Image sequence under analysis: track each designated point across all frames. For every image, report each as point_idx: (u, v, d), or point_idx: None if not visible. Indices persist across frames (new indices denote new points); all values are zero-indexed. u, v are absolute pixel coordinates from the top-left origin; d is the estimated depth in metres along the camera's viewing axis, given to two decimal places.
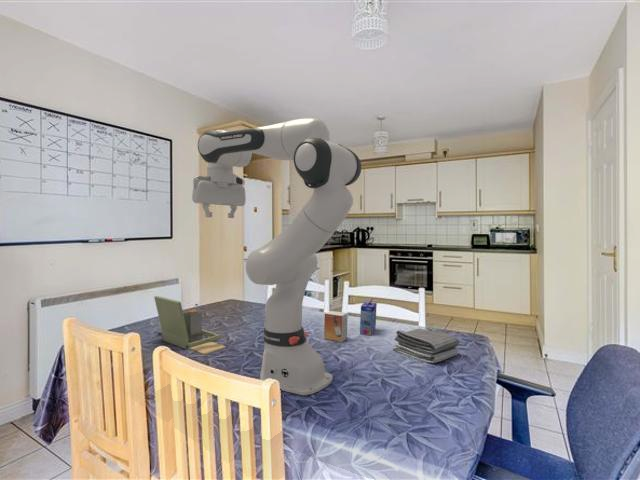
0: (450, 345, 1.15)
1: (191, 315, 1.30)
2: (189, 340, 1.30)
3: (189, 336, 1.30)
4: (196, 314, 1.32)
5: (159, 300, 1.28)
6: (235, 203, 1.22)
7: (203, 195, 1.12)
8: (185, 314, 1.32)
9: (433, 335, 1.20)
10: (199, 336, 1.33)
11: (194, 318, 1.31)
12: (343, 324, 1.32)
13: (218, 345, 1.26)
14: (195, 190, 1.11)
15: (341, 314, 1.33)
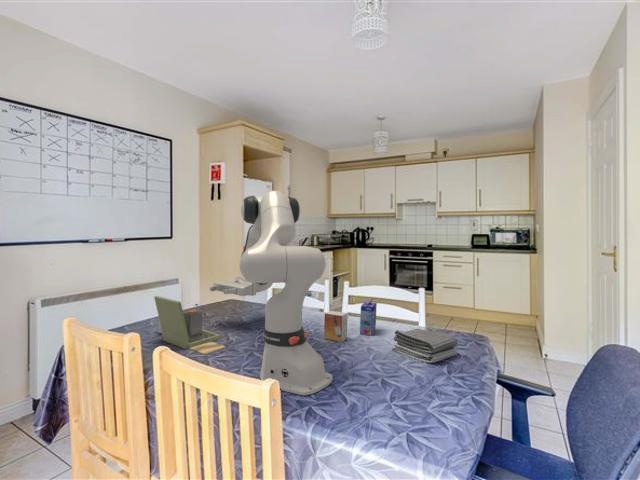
0: (448, 345, 1.15)
1: (191, 315, 1.30)
2: (189, 340, 1.30)
3: (189, 336, 1.30)
4: (196, 314, 1.32)
5: (159, 300, 1.28)
6: (235, 286, 1.43)
7: (219, 282, 1.53)
8: (185, 314, 1.32)
9: (432, 335, 1.20)
10: (199, 336, 1.33)
11: (194, 318, 1.31)
12: (343, 324, 1.32)
13: (218, 345, 1.26)
14: None
15: (341, 314, 1.33)
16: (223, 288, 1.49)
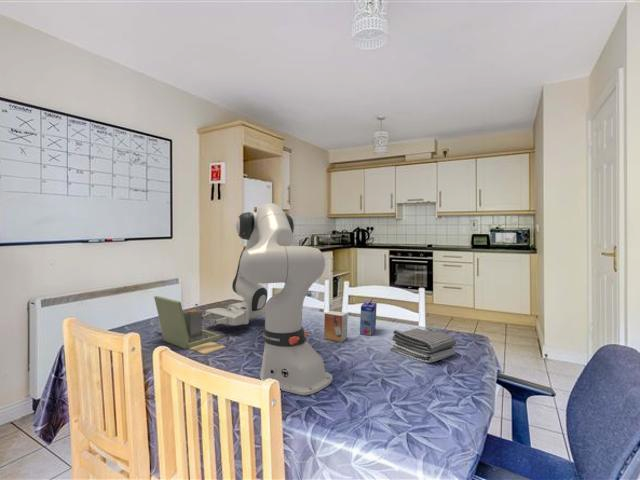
0: (447, 345, 1.15)
1: (191, 315, 1.30)
2: (189, 340, 1.30)
3: (189, 336, 1.30)
4: (196, 314, 1.32)
5: (159, 300, 1.28)
6: (227, 315, 1.40)
7: (212, 309, 1.49)
8: (185, 314, 1.32)
9: (430, 335, 1.20)
10: (199, 336, 1.33)
11: (194, 318, 1.31)
12: (343, 324, 1.32)
13: (218, 345, 1.26)
14: None
15: (341, 314, 1.33)
16: (215, 316, 1.45)
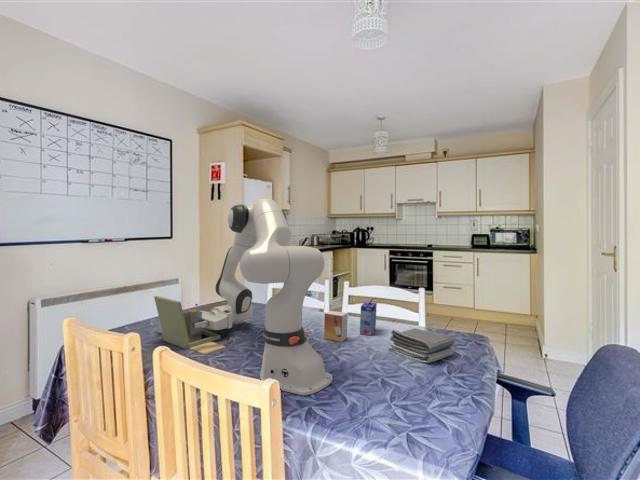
0: (445, 345, 1.15)
1: (191, 315, 1.30)
2: (189, 340, 1.30)
3: (189, 336, 1.30)
4: (196, 314, 1.32)
5: (159, 300, 1.28)
6: (209, 319, 1.33)
7: None
8: (185, 314, 1.32)
9: (428, 335, 1.20)
10: (199, 336, 1.33)
11: (194, 318, 1.31)
12: (343, 324, 1.32)
13: (218, 345, 1.26)
14: None
15: (341, 314, 1.33)
16: None
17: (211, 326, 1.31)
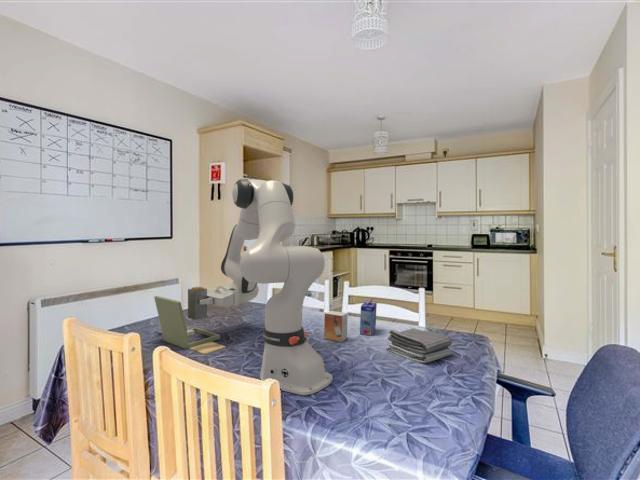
0: (442, 345, 1.15)
1: (196, 291, 1.26)
2: (194, 317, 1.27)
3: (194, 313, 1.26)
4: (201, 290, 1.28)
5: (159, 300, 1.28)
6: (214, 296, 1.29)
7: None
8: (190, 291, 1.28)
9: (426, 335, 1.20)
10: (204, 313, 1.29)
11: (199, 294, 1.27)
12: (343, 324, 1.32)
13: (218, 345, 1.26)
14: None
15: (341, 314, 1.33)
16: None
17: (217, 303, 1.27)
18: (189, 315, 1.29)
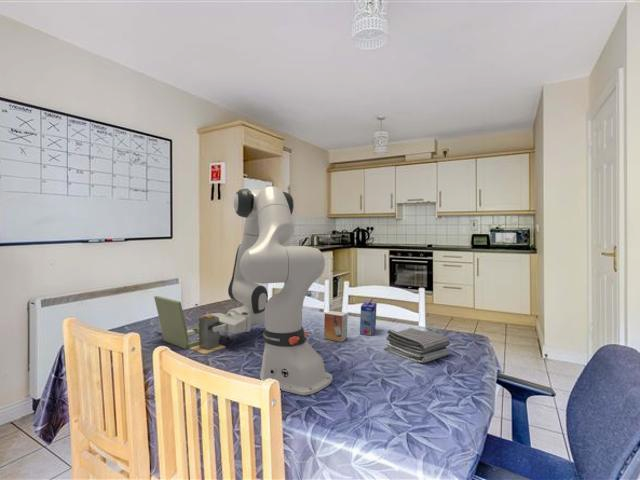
0: (440, 345, 1.15)
1: (208, 320, 1.21)
2: (206, 347, 1.21)
3: (206, 343, 1.21)
4: (213, 319, 1.23)
5: (159, 300, 1.28)
6: (226, 321, 1.24)
7: None
8: (201, 319, 1.23)
9: (424, 335, 1.20)
10: (216, 343, 1.24)
11: (211, 324, 1.22)
12: (343, 324, 1.32)
13: None
14: None
15: (341, 314, 1.33)
16: None
17: (229, 329, 1.22)
18: (200, 344, 1.23)
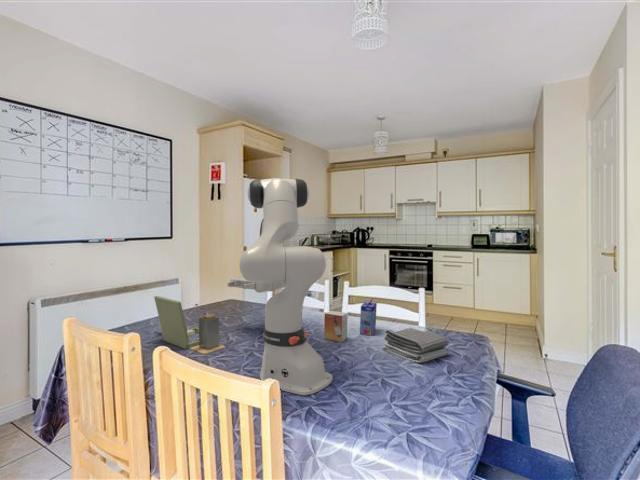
0: (438, 345, 1.15)
1: (208, 320, 1.21)
2: (206, 347, 1.21)
3: (206, 343, 1.21)
4: (213, 319, 1.23)
5: (159, 300, 1.28)
6: None
7: (237, 278, 1.46)
8: (201, 319, 1.23)
9: (422, 335, 1.20)
10: (216, 343, 1.24)
11: (211, 324, 1.22)
12: (343, 324, 1.32)
13: None
14: None
15: (341, 314, 1.33)
16: (241, 284, 1.42)
17: (257, 287, 1.35)
18: (200, 344, 1.23)
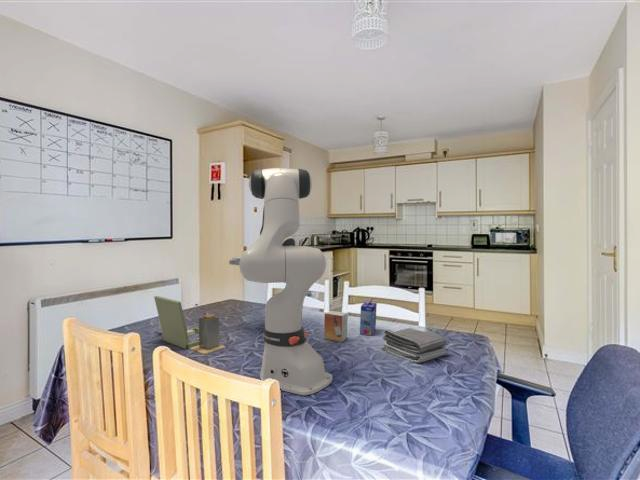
0: (437, 345, 1.15)
1: (208, 320, 1.21)
2: (206, 347, 1.21)
3: (206, 343, 1.21)
4: (213, 319, 1.23)
5: (159, 300, 1.28)
6: None
7: (238, 256, 1.48)
8: (201, 319, 1.23)
9: (421, 335, 1.20)
10: (216, 343, 1.24)
11: (211, 324, 1.22)
12: (343, 324, 1.32)
13: None
14: None
15: (341, 314, 1.33)
16: None
17: None
18: (200, 344, 1.23)
